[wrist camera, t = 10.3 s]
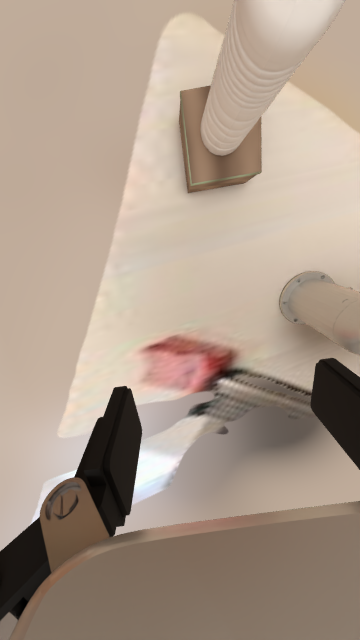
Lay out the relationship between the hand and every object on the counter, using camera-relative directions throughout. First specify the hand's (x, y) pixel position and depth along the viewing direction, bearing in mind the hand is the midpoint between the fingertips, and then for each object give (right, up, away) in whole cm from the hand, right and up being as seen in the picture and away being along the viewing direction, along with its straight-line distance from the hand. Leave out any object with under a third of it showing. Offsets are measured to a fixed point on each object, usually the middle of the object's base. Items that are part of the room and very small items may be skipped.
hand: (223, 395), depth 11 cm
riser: (+4, +34, +28) cm, 44 cm away
